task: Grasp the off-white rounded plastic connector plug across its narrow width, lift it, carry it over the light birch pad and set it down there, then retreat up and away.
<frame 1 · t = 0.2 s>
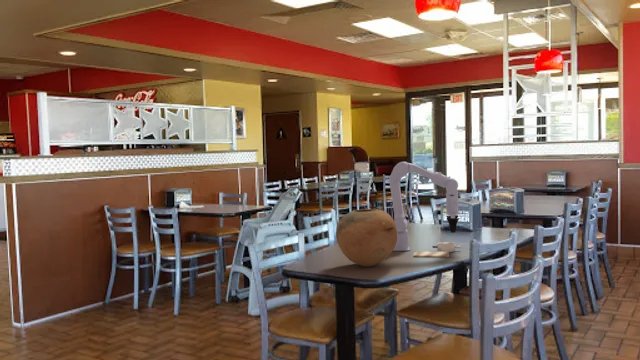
hand: (452, 231, 274), 9 cm above the table, fingers open, 7 cm apart
pot: (367, 266, 246), on the table
pad: (431, 255, 265), on the table
connector: (446, 251, 274), on the table
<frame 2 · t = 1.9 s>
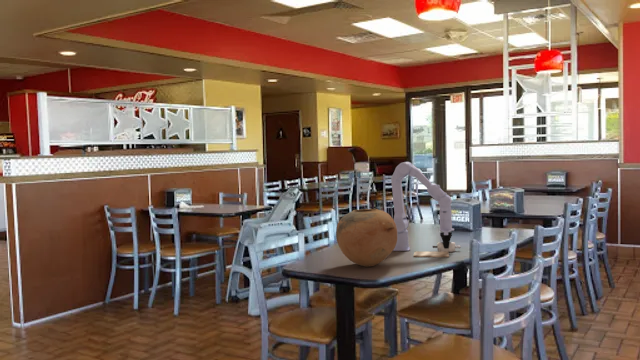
hand: (446, 247, 274), 2 cm above the table, fingers closed on connector, 3 cm apart
connector: (446, 250, 274), on the table, touching gripper
everything else where it was.
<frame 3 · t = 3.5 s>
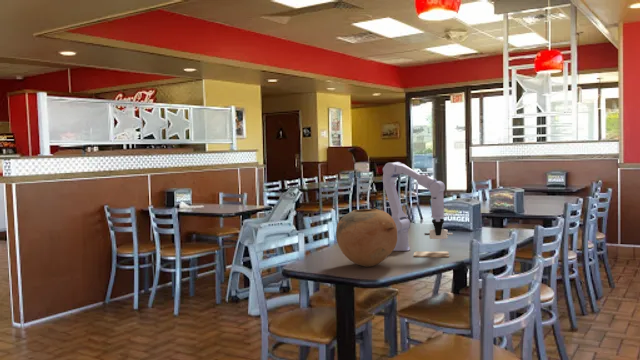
hand: (438, 234, 269), 9 cm above the table, fingers closed on connector, 3 cm apart
connector: (438, 238, 269), point 7 cm above the table, touching gripper
everything else where it was.
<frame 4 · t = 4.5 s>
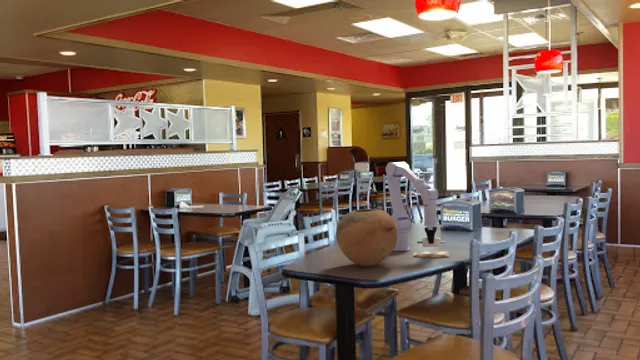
hand: (431, 242, 264), 6 cm above the table, fingers closed on connector, 3 cm apart
connector: (431, 246, 264), point 4 cm above the table, touching gripper
everything else where it was.
when the fingers open (4 cm above the table, at t = 5.3 s): connector drops 1 cm, resting on pad.
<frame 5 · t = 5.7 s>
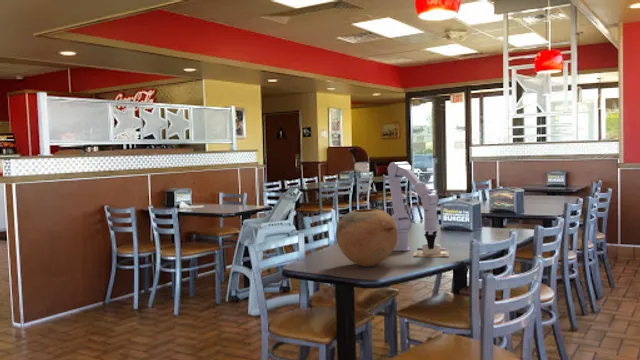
hand: (431, 247, 264), 4 cm above the table, fingers open, 7 cm apart
connector: (431, 253, 264), point 1 cm above the table, touching pad
everything else where it was.
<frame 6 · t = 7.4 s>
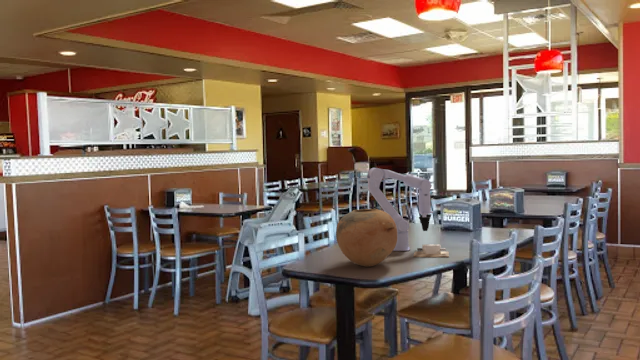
hand: (425, 229, 282), 9 cm above the table, fingers open, 7 cm apart
nothing on the table moved.
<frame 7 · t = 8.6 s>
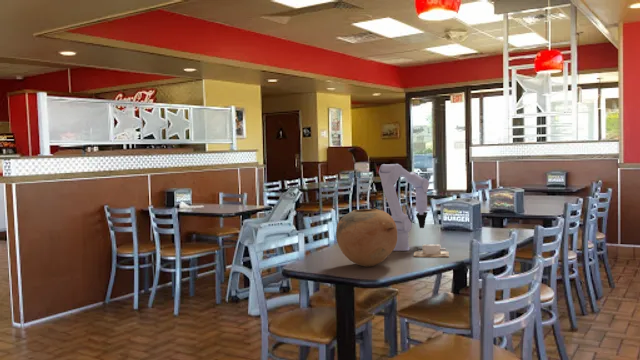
hand: (422, 227, 292), 9 cm above the table, fingers open, 7 cm apart
nothing on the table moved.
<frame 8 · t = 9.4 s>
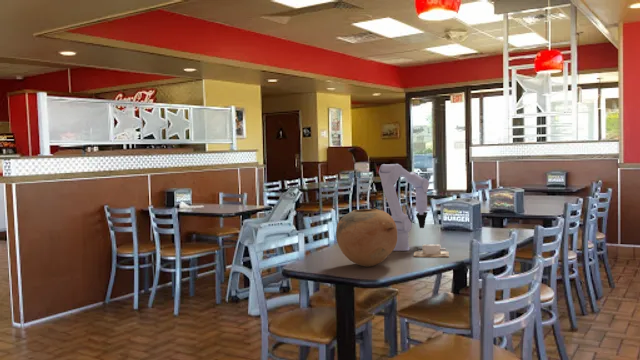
hand: (422, 227, 292), 9 cm above the table, fingers open, 7 cm apart
nothing on the table moved.
at the end: connector inside the target area on the pad (0.1 cm from its centre), point 0.8 cm above the pad's base; the gripper is holding nothing; connector tilted 0° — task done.
